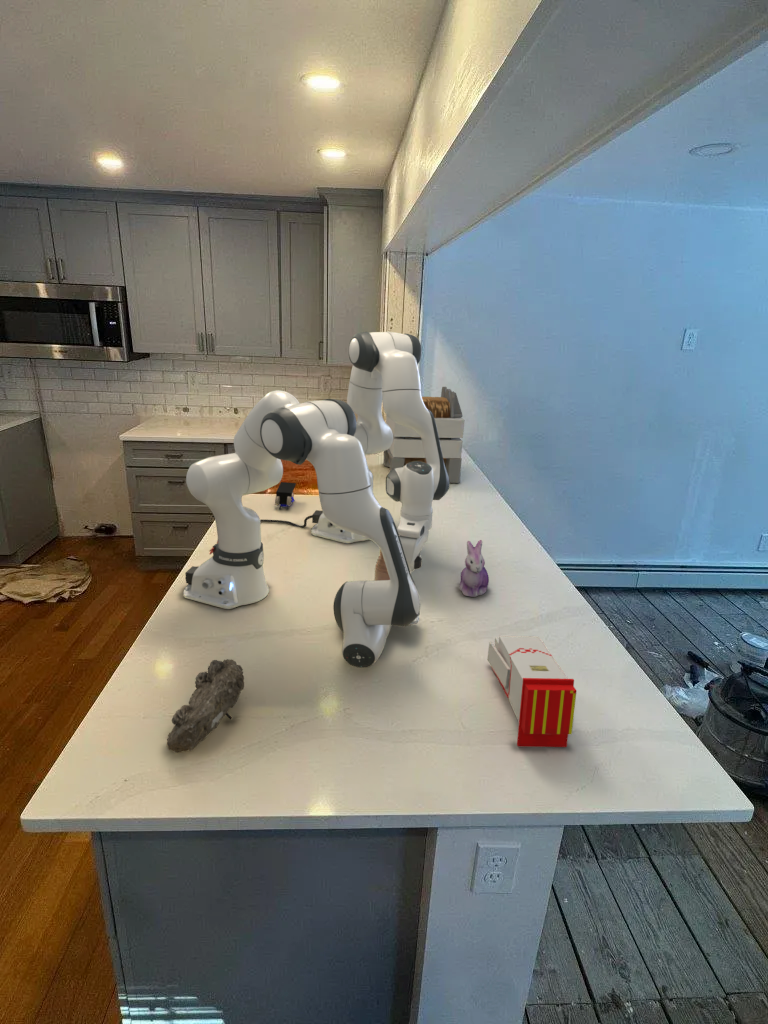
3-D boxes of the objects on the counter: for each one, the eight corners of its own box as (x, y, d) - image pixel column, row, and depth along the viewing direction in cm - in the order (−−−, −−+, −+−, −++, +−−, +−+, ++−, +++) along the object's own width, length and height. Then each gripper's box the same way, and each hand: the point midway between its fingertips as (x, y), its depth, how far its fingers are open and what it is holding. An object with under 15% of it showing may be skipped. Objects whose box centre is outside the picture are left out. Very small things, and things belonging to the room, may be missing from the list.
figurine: (470, 601, 155) (475, 551, 150) (449, 585, 164) (454, 537, 159) (497, 594, 160) (504, 545, 154) (476, 579, 168) (481, 532, 163)
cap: (414, 561, 164) (415, 554, 164) (424, 566, 161) (425, 559, 160) (402, 564, 162) (402, 557, 161) (412, 570, 158) (412, 563, 158)
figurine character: (292, 514, 217) (296, 498, 230) (291, 496, 214) (296, 480, 227) (274, 514, 217) (280, 497, 230) (273, 496, 213) (279, 480, 227)
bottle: (396, 609, 150) (400, 544, 143) (389, 619, 145) (393, 552, 139) (377, 605, 151) (380, 540, 145) (369, 614, 146) (372, 548, 140)
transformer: (382, 463, 289) (386, 382, 275) (445, 464, 293) (451, 384, 279) (390, 482, 257) (394, 392, 243) (460, 483, 261) (468, 394, 247)
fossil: (192, 660, 117) (244, 628, 112) (224, 691, 120) (276, 661, 115) (142, 746, 98) (202, 712, 93) (182, 779, 101) (242, 748, 96)
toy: (536, 619, 129) (586, 686, 99) (531, 673, 131) (578, 754, 102) (483, 618, 128) (517, 685, 99) (479, 672, 131) (511, 753, 102)
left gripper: (418, 613, 132) (425, 587, 144) (332, 602, 135) (347, 577, 148) (416, 637, 134) (423, 608, 147) (332, 625, 137) (346, 598, 150)
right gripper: (414, 508, 167) (411, 551, 172) (394, 531, 149) (392, 579, 153) (435, 511, 165) (432, 554, 170) (418, 535, 147) (415, 583, 152)
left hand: (384, 592), depth 147 cm, fingers closed on bottle, 5 cm apart
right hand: (413, 566), depth 161 cm, fingers closed on cap, 4 cm apart
